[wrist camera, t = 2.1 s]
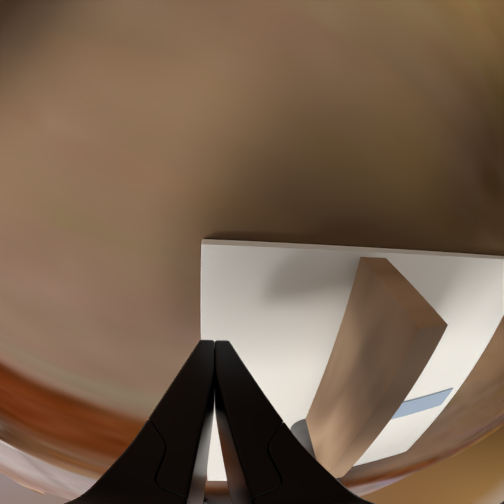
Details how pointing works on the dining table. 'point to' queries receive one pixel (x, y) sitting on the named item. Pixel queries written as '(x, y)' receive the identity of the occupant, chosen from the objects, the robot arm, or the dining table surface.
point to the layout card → (339, 323)
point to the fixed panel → (304, 436)
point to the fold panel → (371, 363)
